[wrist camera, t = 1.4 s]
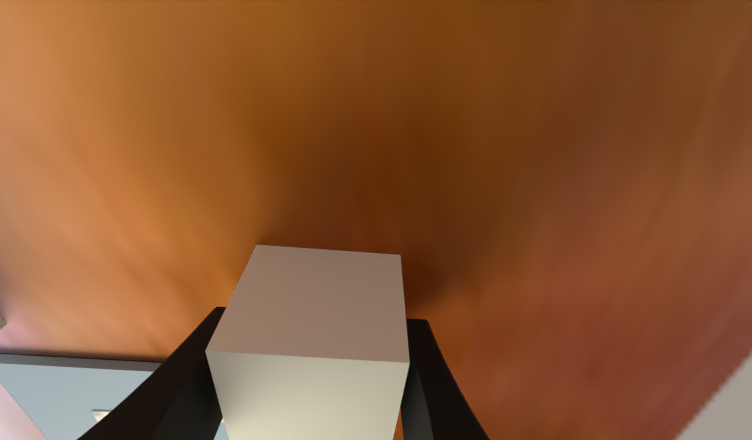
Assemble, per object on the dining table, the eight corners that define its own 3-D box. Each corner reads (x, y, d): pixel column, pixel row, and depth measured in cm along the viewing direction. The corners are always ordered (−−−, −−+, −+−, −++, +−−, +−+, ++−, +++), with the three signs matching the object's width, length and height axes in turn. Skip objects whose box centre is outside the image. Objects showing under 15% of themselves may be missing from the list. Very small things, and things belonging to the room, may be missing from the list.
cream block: (385, 344, 14) (388, 458, 10) (268, 337, 14) (232, 451, 10) (400, 252, 11) (409, 363, 8) (257, 242, 11) (205, 351, 8)
